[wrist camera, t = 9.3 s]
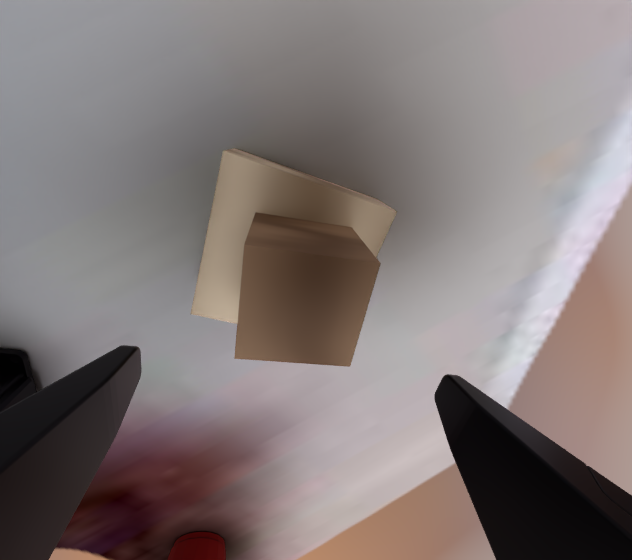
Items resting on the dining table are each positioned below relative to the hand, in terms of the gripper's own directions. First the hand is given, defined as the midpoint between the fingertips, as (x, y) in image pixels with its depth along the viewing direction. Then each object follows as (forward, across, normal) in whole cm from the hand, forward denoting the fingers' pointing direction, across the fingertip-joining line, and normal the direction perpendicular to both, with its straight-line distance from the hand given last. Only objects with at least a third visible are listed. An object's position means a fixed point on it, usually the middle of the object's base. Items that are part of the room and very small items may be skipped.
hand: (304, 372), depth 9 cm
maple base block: (+12, 0, 0) cm, 12 cm away
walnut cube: (+8, 0, 0) cm, 8 cm away
